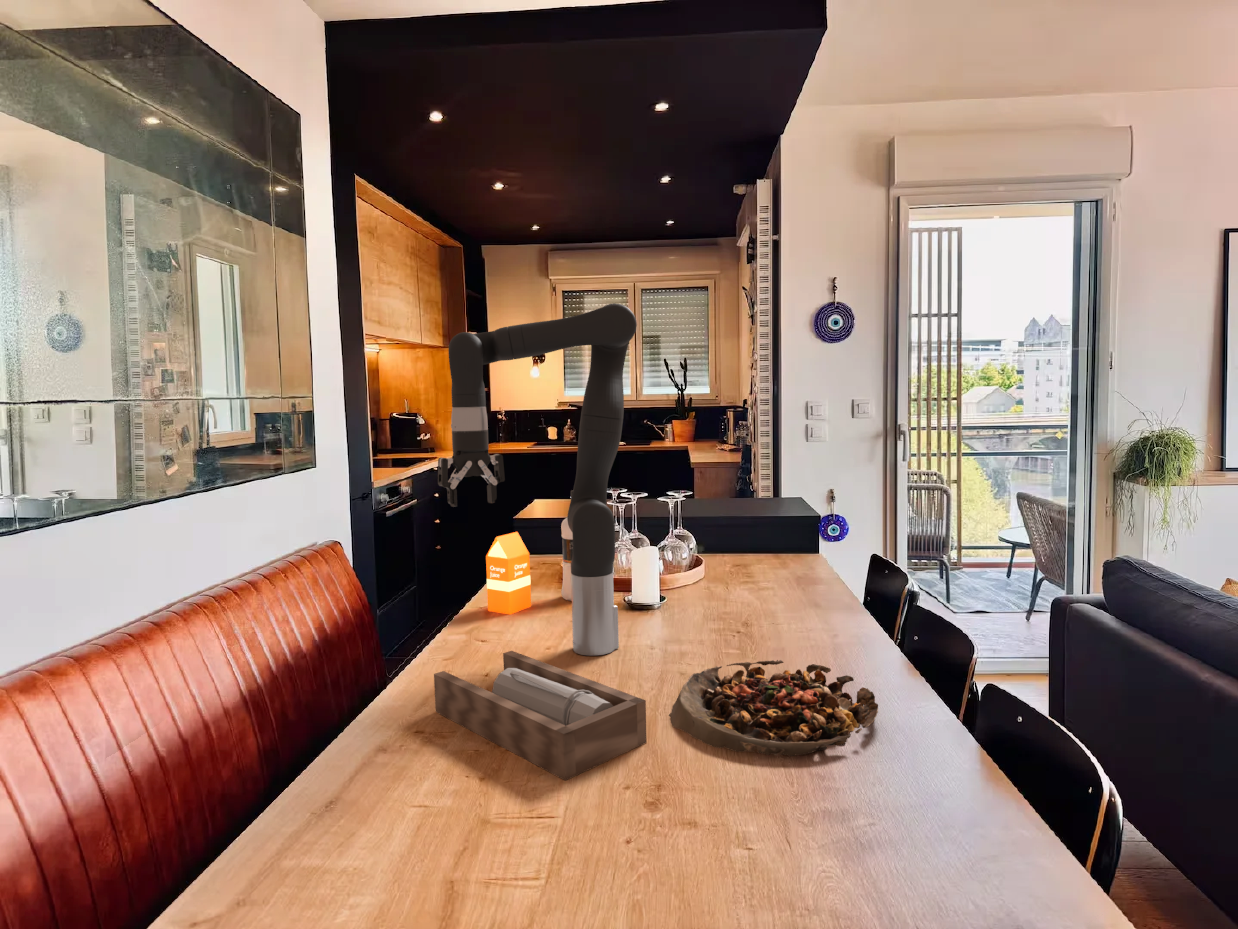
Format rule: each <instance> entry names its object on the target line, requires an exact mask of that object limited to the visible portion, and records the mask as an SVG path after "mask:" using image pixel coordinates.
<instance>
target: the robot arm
mask: <svg viewBox="0 0 1238 929" xmlns="http://www.w3.org/2000/svg"><path fill="white" fill-rule="evenodd" d="M637 325H638V324H637V318H636V316H635V314H634V312H633V310H631V309H630V308H629V307H628V306H626V305H625V304H621V303H616V302H615V303H609V304H606V305H604V306H601V307H599V308H597V309H593V310H591V311H587V312H584V313H581V314H577V315H573V316H568V317H565V318H563V317H562V318H557V319H552V320H543V321H536V322H528V323H527V322H526V323H521V324H520V323H519V324H516V325H515V324H514V325H510V326H503V327H500V328H497V329H495V330H493V331H485V332H478V333H471V332H465V331H464V332H459V333H457V334H456V335H454V336H452V338H451V339H450V341H449V344H448V363H449V370H450V378H451V410H452V411H451V418H450V419H451V423H450V428H451V440H452V441H451V442H452V444H451V445H452V457H451V458H449V457H448V458H447V457H439V458H438V460H437V485H438V486H439V487H443V488H446V491H447V492H446V493H447V503H448V504H449V505H450V507H452V508H456V507H458V490H457V486H458V485H459V483H460V482H461V481H462V480H463V478H464V477H465V478H470V477H473V476H474V477H482V478H483V479H484V480H485V481H486V483H487V484H488V485H486V492H487V493H486V494H487V499H486V500H487V503H488V504H494V503H496V501H497V497H498V495H497V494H498V493H497V492H498V491H497V485H498V484H500V483H503V482H505V481H506V477H505V475H506V474H505V467H504V456H503V455H502V454H500V453H494V454H493V455H490V454H489V449H490V448H489V447H490V446H489V428H488V427H489V425H488V413H487V405H486V404H487V400H486V388H485V383H484V377H483V376H484V370H483V369H484V365H488V364H493V363H497V362H500V361H501V362H502V361H511V360H519V359H525V358H526V359H527V358H532V357H535V356H541V355H545V354H549V353H552V352H556V351H560V350H564V349H570V348H574V347H575V348H576V347H581V346H590V347H591V348H590V367H589V371H588V372H589V373H588V378H587V381H586V382H587V383H586V386H585V390H584V395H583V400H582V406H581V412H580V421H579V426H578V427H579V428H578V441H577V443H578V444H577V452H576V453H577V455H576V474H575V478H574V479H575V480H574V485H573V488H572V489H573V493H572V498H571V497H570V503H569V506H568V511H567V517H566V518H567V521H568V525H569V528H570V530H571V531H572V533H573V557H572V560H571V591H572V601H571V619H572V621H571V624H572V650H573V652H574V653H575V654H578V655H581V656H591V657H593V656H603V655H606V654H610V653H612V652H614V651H615V650H617V649H619V641H620V640H619V608H618V605H616V604H615V601H614V600H615V598H614V597H615V596H614V594H615V593H614V592H615V591H614V590H615V588H614V587H615V586H614V563H615V559H616V522H615V517H614V513H613V512H612V510H611V509H610V507H609V506H608V505H607V503H608V502H607V500H608V499H607V496H608V485H609V484H608V483H609V476H610V473H611V470H612V467H613V465H614V462H615V459H616V456H617V453H618V450H619V448H620V443H621V439H622V431H623V423H624V413H625V411H624V410H625V409H624V408H625V398H624V397H625V396H624V394H625V393H624V380H623V379H624V378H623V377H624V369H625V368H624V366H625V361H626V356H627V352H628V346H629V344H630V341H632V339H633V338H634V336H635V334H636V331H637ZM490 463H491V464H492V465H493V469H494V470H493V471H494V475H493V473H492V471H491V470H490V469H489V468H488V466H489V464H490ZM451 465H452V466H453V467H454V470H453V472H452V473H451V475H450V478H449V476H448V475H449V474H448V473H449V469H450V467H451Z"/></svg>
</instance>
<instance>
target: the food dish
mask: <svg viewBox="0 0 1238 929" xmlns="http://www.w3.org/2000/svg"><path fill="white" fill-rule="evenodd" d="M783 663H784V660H782V659H779V660H778V659H777V660H774V659H773V660H759V661H756V662H751V661H750V662H749V661H745V662H735V663H730V664H727V665H726V667H731V666H741V667H743V668H744V670H745V671H746V675H744V674H745V672H744V670H743V669H739V670H737V671H735V672H734V673H733V675H728V674H727V675H725V676H723V678H722V679H721V678H720V675H719V670H720V669H721V668H723V665H720V666H717V665H716V666H714V667H711V668H706V669H704V670H702V671H701V672H697V673H693V674H691V675H690V676H689V678H688V680H687V681H686V682H685V683H684V684H683V686H682V688H681V689H680V692H679V694H678V696H677V698H676V700H675V702H674V704H673V705H672V708H671V712H670V713H669V715H668V716H669V717H670V719H669V720H670V723H671V726H672V728H673V727H674V728H676V729H678V730H681V731H683V732H685V733H687V734H688V735H690V737H692V738H694V739H697V740H698V741H701V742H702V743H704V744H706V745H708V746H711V747H713V748H718V749H722V748H726V749H728V750H730V751H734V752H737V753H738V752H740V753H741V752H748V753H753V752H755V753H758V754H765V755H766V756H767V755H771V754H772V755H784V756H791V757H792V756H800V755H807V754H811V753H813V752H816V751H817V752H819V751H824V750H826V749H827V747H828V746H829V747H830V746H836V747H837V746H844V745H845V744H846V743H847V742H848V739H850V738H851V737H852V736H851V735H852V733H853V732H855V734H859V733H860V732H861V731H862V730H863V729H865V728H866V729H867V728H869V726H870V725H871V724H873V723H874V722H875V720H876V718H877V715H878V713H879V704H878V703H877V702H875V701H876V696H875V694H874V692H873V691H871V690H870V689H869V688H866V687H861V688H859V690H858V691H856V702H853V697H852V696H851V694H850V693H849V692H843V687H844V685H845V684H847V683H849V682H854V681H855V679H854V676H853V677H852V676H850V675H842V676H837V677H836V678H835V679H836V681H832V682H831V683H828V685H827V677H826V674H828V673H830V672H831V671H832V669H831V668H830V667H827V666H826V665H825V666H824V665H820V664H819V665H818V664H816V663H813V664H809V665H807V666H806V667H805V668H806V670H803V671H802V670H801V669H800V668H799V669H796V671H795V672H793V673H791V671H790V670H789V669H785V670H784V671H783V672H775V673H774V674H772V676H771V677H770V678H767V677H766V676H765V675H766V674H765V673H766V670H765V669H764V668H763V667H762V666H768V665H771V666H772V665H773V666H774V665H779V664H783ZM755 664H757V665H758V664H759V665H762V666H753V667H751V666H752V665H755ZM750 667H751V668H750ZM811 673H813V674H814V678H813V677H812V676H810V674H811ZM824 673H825V674H824ZM860 727H861V728H860ZM855 729H856V730H855Z"/></svg>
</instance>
